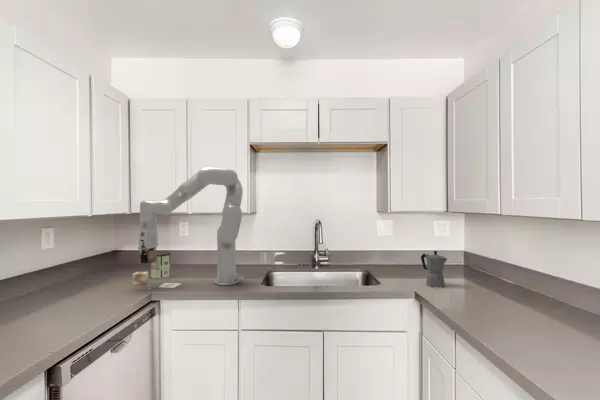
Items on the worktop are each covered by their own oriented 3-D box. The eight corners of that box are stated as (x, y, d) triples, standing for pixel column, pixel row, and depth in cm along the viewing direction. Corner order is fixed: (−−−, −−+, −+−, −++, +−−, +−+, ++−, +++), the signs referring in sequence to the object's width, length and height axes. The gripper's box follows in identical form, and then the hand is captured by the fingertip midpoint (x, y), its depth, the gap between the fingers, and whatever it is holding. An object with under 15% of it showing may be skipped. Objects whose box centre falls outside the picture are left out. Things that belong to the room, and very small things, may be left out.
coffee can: (156, 275, 199) (156, 251, 199) (173, 275, 198) (173, 251, 198) (147, 279, 189) (147, 254, 189) (164, 280, 188) (164, 254, 188)
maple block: (148, 282, 182) (148, 271, 182) (144, 285, 176) (144, 274, 176) (136, 283, 181) (136, 271, 181) (132, 285, 175) (132, 274, 175)
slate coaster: (159, 286, 173) (159, 285, 173) (151, 291, 165) (151, 289, 165) (145, 286, 174) (145, 285, 174) (135, 290, 166) (135, 289, 166)
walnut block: (156, 261, 172) (156, 249, 172) (150, 263, 166) (150, 251, 166) (145, 261, 173) (145, 249, 173) (138, 263, 167) (138, 251, 167)
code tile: (181, 284, 179) (181, 283, 179) (173, 288, 170) (173, 287, 170) (165, 283, 180) (165, 282, 180) (156, 288, 171) (156, 287, 171)
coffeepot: (452, 287, 174) (452, 251, 174) (441, 289, 169) (441, 253, 168) (426, 280, 187) (426, 248, 187) (415, 283, 181) (415, 249, 181)
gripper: (145, 226, 161) (145, 265, 161) (164, 224, 178) (163, 258, 178) (130, 226, 162) (130, 264, 162) (150, 224, 179) (150, 258, 179)
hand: (147, 261), depth 170 cm, fingers closed on walnut block, 6 cm apart
